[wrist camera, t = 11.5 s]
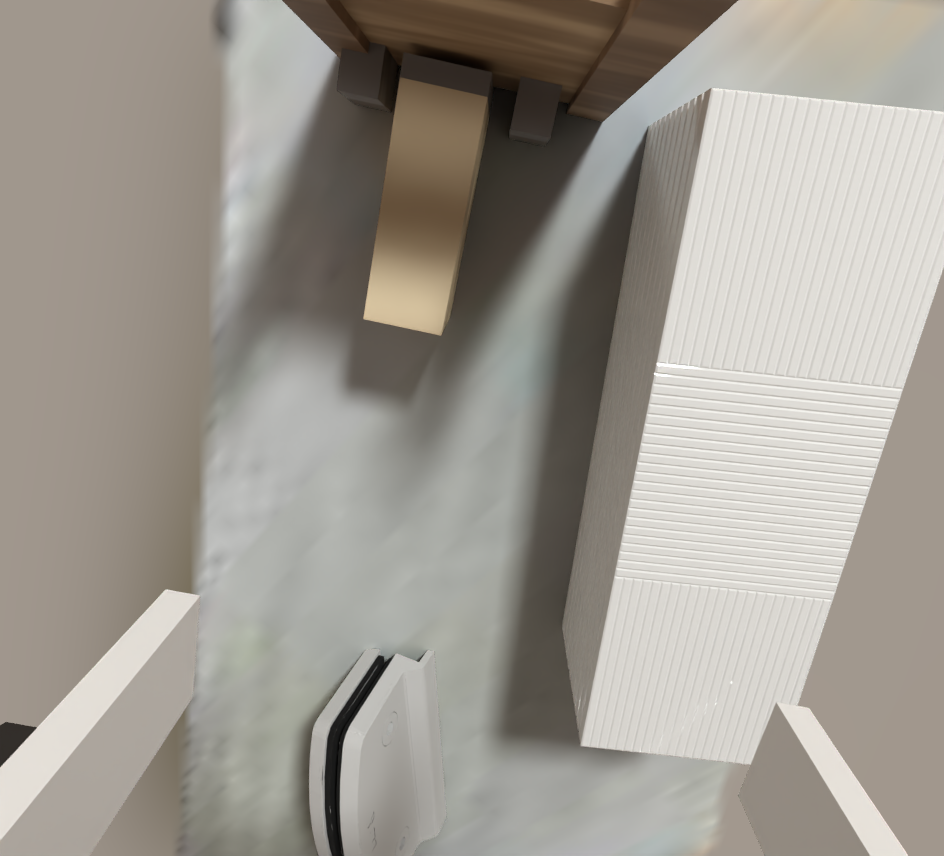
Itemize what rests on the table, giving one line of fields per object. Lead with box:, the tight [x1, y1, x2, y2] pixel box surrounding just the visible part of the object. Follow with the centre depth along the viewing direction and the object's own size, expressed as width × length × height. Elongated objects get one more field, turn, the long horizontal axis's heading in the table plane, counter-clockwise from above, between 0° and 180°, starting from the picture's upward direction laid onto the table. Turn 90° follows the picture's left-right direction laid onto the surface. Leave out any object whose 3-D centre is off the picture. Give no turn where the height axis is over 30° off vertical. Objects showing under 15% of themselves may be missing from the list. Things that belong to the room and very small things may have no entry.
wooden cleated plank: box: [282, 0, 738, 147], centre depth 23 cm, size 4×14×22 cm, turn 78°
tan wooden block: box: [363, 52, 493, 336], centre depth 32 cm, size 12×4×6 cm, turn 168°
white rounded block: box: [309, 649, 447, 856], centre depth 44 cm, size 17×5×10 cm, turn 3°
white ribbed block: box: [562, 88, 944, 765], centre depth 34 cm, size 32×11×11 cm, turn 174°
